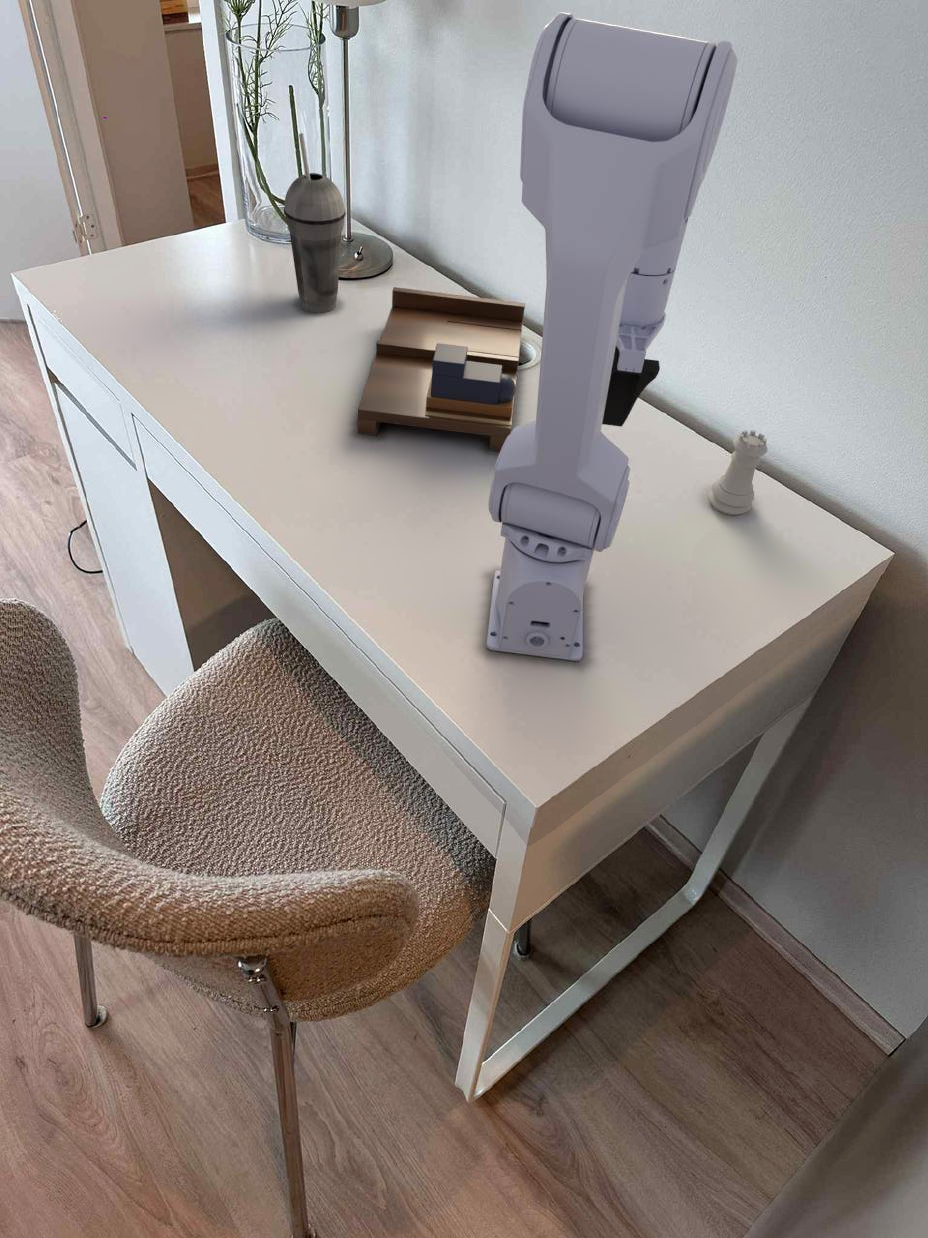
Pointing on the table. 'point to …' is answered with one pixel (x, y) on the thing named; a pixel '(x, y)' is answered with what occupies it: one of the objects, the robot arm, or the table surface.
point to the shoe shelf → (410, 353)
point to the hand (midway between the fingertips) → (610, 400)
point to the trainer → (468, 384)
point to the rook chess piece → (739, 475)
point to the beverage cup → (315, 236)
